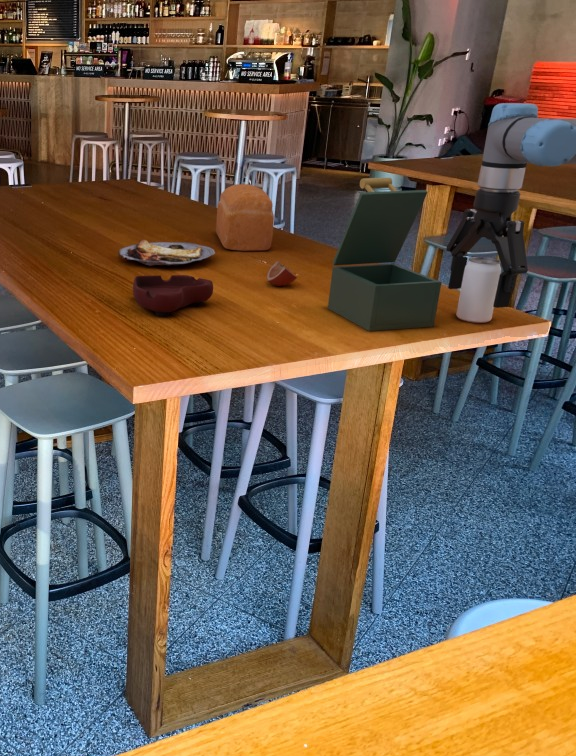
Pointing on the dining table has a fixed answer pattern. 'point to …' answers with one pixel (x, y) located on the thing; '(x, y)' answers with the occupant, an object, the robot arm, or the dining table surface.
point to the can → (478, 290)
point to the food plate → (165, 253)
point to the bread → (245, 218)
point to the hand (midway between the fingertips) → (476, 297)
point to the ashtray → (170, 292)
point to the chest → (384, 296)
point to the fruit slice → (280, 275)
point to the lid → (378, 223)
